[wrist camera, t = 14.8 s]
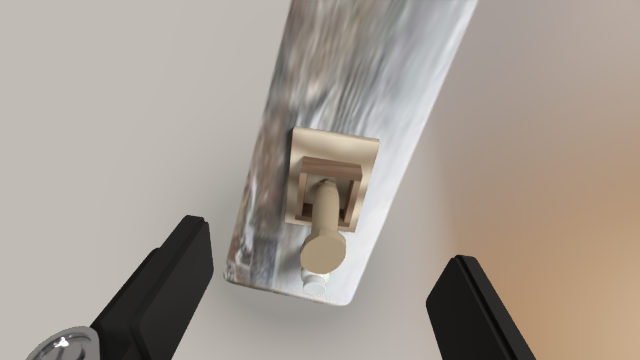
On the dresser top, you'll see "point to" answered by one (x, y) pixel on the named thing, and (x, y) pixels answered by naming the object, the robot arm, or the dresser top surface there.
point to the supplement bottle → (314, 283)
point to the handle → (324, 232)
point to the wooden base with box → (329, 173)
